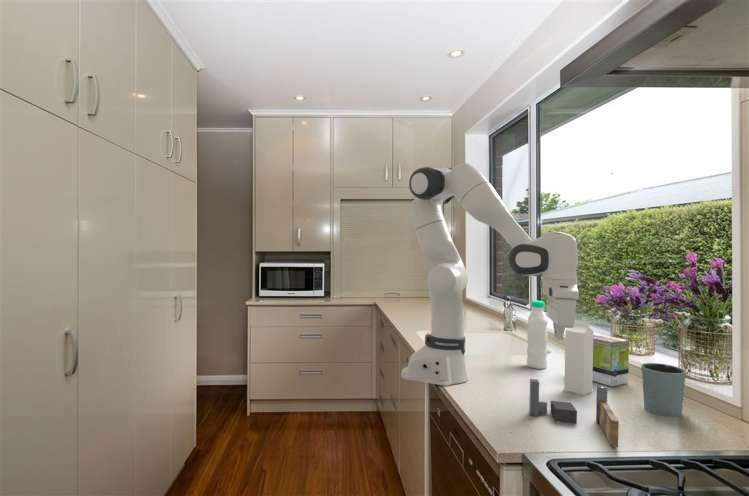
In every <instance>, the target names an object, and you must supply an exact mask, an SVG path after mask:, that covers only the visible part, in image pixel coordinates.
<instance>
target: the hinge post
mask: <svg viewBox="0 0 749 496" xmlns="http://www.w3.org/2000/svg"><path fill="white" fill-rule="evenodd" d="M595 395H596V396H595V397H596V400H595V402H596V403H595V405H596V406H595V415H596V416H595V422H596V423H597V424H600V422H599V421H600V400H602V401H606V402H607V403H608V387H607V386H606V385H605V386H604V385H596V394H595Z"/></svg>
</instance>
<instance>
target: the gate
mask: <svg viewBox="0 0 749 496" xmlns="http://www.w3.org/2000/svg"><path fill="white" fill-rule="evenodd" d="M599 422H600V426H601V429H602V431H603V432H604V435H605V437H606V439H607V441H608V443H609V445H610V447H617V448H618V447H619V430H620V429H619V426H620V425H619V424H620V423H619V419H618V418H617V416H616V415H615V413H614V411H613V410H612V408H611V406H610V405H609V403H608V401H607V402H606V401H602V400H600V421H599Z"/></svg>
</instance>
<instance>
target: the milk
mask: <svg viewBox="0 0 749 496" xmlns="http://www.w3.org/2000/svg"><path fill="white" fill-rule="evenodd" d="M593 334H594V331H593V329H591V327H590V322H589V321H584V320H583V321H582V320H578V319H577V320H576V319H575V322H574V326H573V328H565V331H564V336H565V338H564V341H565V342H564V382H563V383H564V386H563V388H564V389H563V390H564V391H568V392H571V393H574V394H578V395H582V396H584V395H587V394H589V393H591V392H593V381H592V379H593Z"/></svg>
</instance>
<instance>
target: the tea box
mask: <svg viewBox="0 0 749 496" xmlns="http://www.w3.org/2000/svg"><path fill="white" fill-rule="evenodd" d="M629 343H630V341H629V339H625V338H620V337H615V336H614V337H613V336H609V335H602V334H599V333H597V334H596V333H593V379H592V382H596V383H599V384H603V385H605V386H609V387H617V386H620V385H621V386H622V385H627V384H628V383H629V370H630V369H629V367H630V365H629V363H630V362H629V360H630V359H629V353H630V351H629V350H630V344H629Z"/></svg>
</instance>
